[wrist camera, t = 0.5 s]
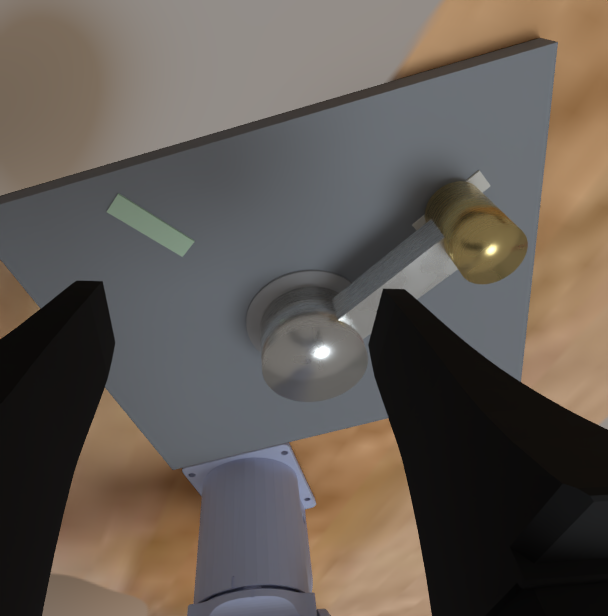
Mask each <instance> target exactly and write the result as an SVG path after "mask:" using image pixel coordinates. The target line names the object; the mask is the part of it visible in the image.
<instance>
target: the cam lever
mask: <svg viewBox="0 0 608 616" xmlns="http://www.w3.org/2000/svg"><path fill="white" fill-rule="evenodd" d="M425 221H426V223H425V224H424V225H423V226H422V227H420V228H419V229H418V230H417V231H415V232H414V233H413V234H412V235H411V236H409V237H408V238H407V239H406V240H404V241H403V242H402V243H401V244H399V245H398V246H397V247H396V248H394V249H393V250H392V251H391V252H390V253H388V254H387V255H386V256H385V257H383V258H382V259H381V260H380V261H378V262H377V263H376V264H375V265H373V266H372V267H371V268H370V269H368V270H367V271H366V272H365V273H364V274H362V275H361V276H360V277H359V278H357V279H356V280H355V281H354V282H352V283H351V284H350V285H349V286H347V287H346V288H345V289H344V290H343V291H341V292H340V293H338V292H336V291H334V290H331V289H328V288H324V287H317V286H308V287H301V288H296V289H293V290H290V291H288V292H285V293H283V294H282V295H280V296H278V297H277V298H276V299H274V300H273V301H272V302H271V303H270V304H269V305H268V307H267V308H266V309H265V311H264V313H263V315H262V318H261V322H260V338H261V360H262V374H263V377H264V380H265V382H266V384H267V385H268V386H269V387H270V388H271V389H272V390H273V391H274V392H275V393H277V394H278V395H280V396H282V397H284V398H287V399H290V400H294V401H300V402H316V401H323V400H327V399H331V398H334V397H336V396H339V395H341V394H343V393H345V392H346V391H348V390H350V389H351V388H352V387H353V386H355V385H356V384H357V383H358V382H359V380H360V379H361V378H362V376H363V375H364V373H365V371H366V369H367V365H368V354H367V351H366V348H365V344H364V341H363V339H364V338H365V337H367V336H368V335H370V334H371V332H372V328H373V324H374V321H375V317H376V313H377V309H378V306H379V302H380V298H381V294H382V290H383V289H405V290H406V291H408V292H409V293H410V294H411V295H412V296H414V297H415V298H416V299H418V298H420V297H421V296H422V295H424V294H425V293H426V292H428V291H429V290H431V289H432V288H433V287H435V286H436V285H437V284H439V283H440V282H441V281H443V280H444V279H445V278H447V277H448V276H450V275H451V274H452V273H454V272H455V271H456V270H459V272H460V273H461V274H462V276H463V277H464V278H465V279H466V280H467V281H469V282H471V283H474V284H490V283H494V282H497V281H500V280H502V279H504V278H505V277H507V276H509V275H510V274H511V273H513V272H514V271H515V270H516V269H517V268H518V267H519V265H520V264H521V263H522V261H523V260H524V258H525V255H526V253H527V248H528V241H527V237H526V235H525V234H524V232H523V231H522V230H521V229H520V228H519V227H518V226H517V225H516V224H515V223H514V222H512V221H511V220H510V219H509V218H508V217H507V216H506V215H505V214H504V213H503V212H502V211H501V210H500V209H499V208H498V207H497V206H496V205H495V204H494V203H493V202H492V201H491V200H490V199H489V198H488V197H486V196H485V195H484V194H483V193H482V192H481V191H480V190H479V189H478V188H477V187H476V186H475V185H473V184H472V183H469V182H465V181H456V182H452V183H449V184H447V185H445V186H443V187H441V188H440V189H439V190H437V191H436V192H435V193H434V194H433V195H432V197H431V198H430V200H429V201H428V203H427V206H426V209H425Z"/></svg>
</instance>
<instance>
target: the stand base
mask: <svg viewBox="0 0 608 616" xmlns="http://www.w3.org/2000/svg"><path fill="white" fill-rule="evenodd" d="M557 45H558V42H555V41H551V40H547V39H543V38H538V39H535V40H532V41H528V42H525V43H521V44H518V45H514V46H511V47H508V48H504V49H501V50H497V51H494V52H490V53H487V54H484V55H480V56H477V57H473V58H470V59H467V60H463V61H460V62H456V63H453V64H449V65H446V66H443V67H439V68H436V69H432V70H429V71H425V72H422V73H419V74H415V75H412V76H408V77H405V78H402V79H398V80H395V81H391V82H388V83H384V84H381V85H378V86H374V87H371V88H368V89H364V90H361V91H358V92H354V93H350V94H347V95H344V96H340V97H337V98H333V99H330V100H326V101H323V102H319V103H316V104H313V105H310V106H306V107H303V108H299V109H296V110H292V111H289V112H286V113H282V114H278V115H275V116H272V117H268V118H265V119H262V120H258V121H255V122H251V123H248V124H244V125H241V126H238V127H234V128H231V129H227V130H224V131H221V132H217V133H213V134H210V135H207V136H203V137H200V138H196V139H193V140H190V141H187V142H183V143H180V144H176V145H173V146H169V147H166V148H162V149H159V150H156V151H152V152H148V153H145V154H142V155H138V156H135V157H132V158H128V159H125V160H121V161H118V162H114V163H111V164H107V165H104V166H101V167H97V168H94V169H91V170H87V171H83V172H80V173H77V174H73V175H70V176H66V177H63V178H60V179H56V180H53V181H49V182H46V183H42V184H39V185H36V186H33V187H29V188H25V189H22V190H19V191H15V192H12V193H8V194H5V195H2V196H0V260H1V261H2V262H3V263H4V264H5V266H6V267H7V268H8V269H9V271H10V272H11V273H12V274H13V275H14V277H15V278H16V279H17V280H18V282H19V283H20V284H21V285H22V286H23V288H24V289H25V290H26V291H27V293H28V294H29V295H30V296H31V297H32V299H33V300H34V301H35V302H36V304H37V305H38V306H39V307H40V308H42V307H44V306H45V305H46V304H47V303H49V302H50V301H51V300H52V299H54V298H55V297H56V296H57V295H58V294H60V293H61V292H62V291H63V290H65V289H66V288H67V287H69V286H70V285H71V284H72V283H74V282H75V281H77V280H78V281H103V285H104V290H105V294H106V299H107V304H108V309H109V314H110V319H111V324H112V328H113V333H114V338H115V348H114V353H113V358H112V363H111V367H110V371H109V376H108V379H107V382H106V385H105V388H106V389H107V390H108V391H109V393H110V394H111V395H112V396H113V398H114V399H115V400H116V401H117V402H118V404H119V405H120V406H121V407H122V409H123V410H124V411H125V412H126V413H127V415H128V416H129V417H130V418H131V420H132V421H133V422H134V423H135V424H136V426H137V427H138V428H139V429H140V431H141V432H142V433H143V434H144V435H145V437H146V438H147V439H148V440H149V442H150V443H151V444H152V445H153V446H154V448H155V449H156V450H157V451H158V453H159V454H160V455H161V456H162V457H163V459H164V460H165V461H166V462H167V464H168V465H169V466H170V467H171V468H172V470H175V469H179V468H183V467H187V466H192V465H196V464H200V463H204V462H208V461H212V460H217V459H221V458H225V457H229V456H233V455H237V454H241V453H246V452H250V451H254V450H258V449H262V448H266V447H270V446H275V445H279V444H283V443H287V442H291V441H295V440H299V439H304V438H308V437H312V436H316V435H320V434H324V433H328V432H333V431H337V430H341V429H345V428H349V427H353V426H357V425H362V424H366V423H370V422H374V421H378V420H382V419H386V418H388V415H387V412H386V409H385V407H384V404H383V401H382V398H381V395H380V392H379V389H378V386H377V383H376V380H375V377H374V372H373V368H372V363H371V357H370V352H369V346H368V343H369V340H370V336H371V334H370V335H368V336H367V337H365V338H364V339H363V341H364V344H365V348H366V351H367V354H368V365H367V369H366V371H365V373H364V375H363V376H362V378H361V379H360V380H359V382H358V383H357V384H356V385H355V386H353V387H352V388H351V389H350V390H348V391H346V392H345V393H343V394H341V395H339V396H336V397H334V398H331V399H327V400H323V401H316V402H300V401H294V400H290V399H287V398H284V397H282V396H280V395H278V394H277V393H275V392H274V391H273V390H272V389H271V388H270V387H269V386H268V385H267V384H266V382H265V380H264V377H263V374H262V360H261V338H260V322H261V318H262V315H263V313H264V311H265V309H266V308H267V307H268V305H269V304H270V303H271V302H272V301H273V300H274V299H276V298H277V297H278V296H280V295H282V294H283V293H285V292H288V291H290V290H293V289H296V288H301V287H308V286H317V287H324V288H328V289H331V290H334V291H336V292H338V293H340V292H341V291H343V290H344V289H345V288H346V287H347V286H349V285H350V284H351V283H352V282H354V281H355V280H356V279H357V278H359V277H360V276H361V275H362V274H364V273H365V272H366V271H367V270H368V269H370V268H371V267H372V266H373V265H375V264H376V263H377V262H378V261H380V260H381V259H382V258H383V257H385V256H386V255H387V254H388V253H390V252H391V251H392V250H393V249H394V248H396V247H397V246H398V245H399V244H401V243H402V242H403V241H404V240H406V239H407V238H408V237H409V236H411V235H412V234H413V233H414V232H415V231H417V230H418V229H419V228H420V227H422V226H423V225H424V224H425V223H426V221H425V209H426V206H427V203H428V201H429V200H430V198H431V197H432V195H433V194H434V193H435V192H436V191H437V190H439V189H440V188H441V187H443V186H445V185H447V184H449V183H452V182H456V181H465V182H469V183H472V184H473V185H475V186H476V187H477V188H478V189H479V190H480V191H481V192H482V193H483V194H484V195H485V196H486V197H488V198H489V199H490V200H491V201H492V202H493V203H494V204H495V205H496V206H497V207H498V208H499V209H500V210H501V211H502V212H503V213H504V214H505V215H506V216H507V217H508V218H509V219H510V220H511V221H512V222H514V223H515V224H516V225H517V226H518V227H519V228H520V229H521V230H522V231H523V232H524V234H525V235H526V237H527V241H528V248H527V253H526V255H525V258H524V260H523V261H522V263H521V264H520V265H519V267H518V268H517V269H516V270H515V271H514V272H513V273H511V274H510V275H509V276H507V277H505V278H504V279H502V280H500V281H497V282H494V283H490V284H474V283H471V282H469V281H467V280H466V279H465V278H464V277H463V276H462V274H461V273H460V272H459V270H456V271H455V272H454V273H452V274H451V275H450V276H448V277H447V278H445V279H444V280H443V281H441V282H440V283H439V284H437V285H436V286H435V287H433V288H432V289H431V290H429V291H428V292H426V293H425V294H424V295H422V296H421V297H420V298H418V299H417V300H418V301H419V302H420V303H422V304H423V305H424V306H425V307H426V308H427V309H428V310H429V311H430V312H432V313H433V314H434V315H435V316H436V317H437V318H438V319H439V320H441V321H442V322H443V323H444V324H445V325H446V326H447V327H448V328H450V329H451V330H452V331H453V332H454V333H455V334H457V335H458V336H459V337H460V338H461V339H463V340H464V341H465V342H466V343H468V344H469V345H470V346H471V347H472V348H474V349H475V350H476V351H478V352H479V353H480V354H482V355H483V356H484V357H485V358H487V359H488V360H489V361H491V362H492V363H493V364H495V365H496V366H498V367H499V368H500V369H502V370H503V371H505V372H506V373H508V374H509V375H511V376H512V377H514V378H515V379H517V380H518V381H520V382H521V375H522V366H523V357H524V348H525V339H526V329H527V320H528V311H529V302H530V293H531V284H532V274H533V265H534V256H535V247H536V238H537V229H538V219H539V210H540V201H541V192H542V183H543V174H544V164H545V155H546V146H547V137H548V128H549V119H550V109H551V100H552V91H553V82H554V73H555V64H556V54H557Z"/></svg>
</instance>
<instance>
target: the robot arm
mask: <svg viewBox="0 0 608 616" xmlns="http://www.w3.org/2000/svg"><path fill="white" fill-rule="evenodd" d="M368 346H369V352H370V357H371V363H372V368H373V372H374V377H375V380H376V383H377V386H378V389H379V392H380V395H381V398H382V401H383V404H384V407H385V409H386V412H387V415H388V418H389V421H390V424H391V427H392V430H393V432H394V435H395V438H396V441H397V444H398V447H399V450H400V454H401V457H402V460H403V464H404V469H405V473H406V477H407V482H408V486H409V490H410V495H411V500H412V504H413V509H414V514H415V519H416V524H417V529H418V534H419V539H420V545H421V550H422V556H423V562H424V567H425V573H426V579H427V585H428V592H429V599H430V605H431V612H432V616H608V430H607V429H605V428H603V427H601V426H599V425H597V424H595V423H593V422H591V421H589V420H587V419H585V418H583V417H581V416H579V415H577V414H575V413H573V412H571V411H569V410H567V409H565V408H564V407H562V406H560V405H558V404H557V403H555V402H553V401H551V400H550V399H548V398H546V397H544V396H543V395H541V394H539V393H537V392H536V391H534V390H533V389H531V388H529V387H528V386H526V385H524V384H523V383H521V382H520V381H518V380H517V379H515V378H514V377H512V376H511V375H509V374H508V373H506V372H505V371H503V370H502V369H500V368H499V367H498V366H496V365H495V364H493V363H492V362H491V361H489V360H488V359H487V358H485V357H484V356H483V355H482V354H480V353H479V352H478V351H476V350H475V349H474V348H472V347H471V346H470V345H469V344H468V343H466V342H465V341H464V340H463V339H461V338H460V337H459V336H458V335H457V334H455V333H454V332H453V331H452V330H451V329H450V328H448V327H447V326H446V325H445V324H444V323H443V322H442V321H441V320H439V319H438V318H437V317H436V316H435V315H434V314H433V313H432V312H430V311H429V310H428V309H427V308H426V307H425V306H424V305H423V304H422V303H420V302H419V301H418V300H417V299H416V298H415V297H414V296H412V295H411V294H410V293H409V292H408V291H406V290H405V289H383V290H382V294H381V298H380V302H379V306H378V309H377V313H376V317H375V321H374V324H373V328H372V332H371V336H370V340H369V343H368ZM114 348H115V338H114V333H113V328H112V324H111V319H110V314H109V309H108V304H107V299H106V294H105V290H104V285H103V281H78V280H77V281H75V282H74V283H72V284H71V285H70V286H69V287H67V288H66V289H65V290H63V291H62V292H61V293H60V294H58V295H57V296H56V297H55V298H54V299H52V300H51V301H50V302H49V303H47V304H46V305H45V306H44V307H42V308H41V309H40V310H39V311H37V312H36V313H35V314H33V315H32V316H31V317H30V318H28V319H27V320H26V321H25V322H23V323H22V324H21V325H19V326H18V327H17V328H16V329H14V330H13V331H11V332H10V333H9V334H7V335H6V336H4V337H3V338H2V339H0V616H42V612H43V606H44V602H45V597H46V592H47V587H48V582H49V577H50V572H51V568H52V563H53V558H54V553H55V549H56V544H57V540H58V536H59V531H60V527H61V523H62V518H63V514H64V510H65V506H66V502H67V498H68V494H69V490H70V486H71V482H72V478H73V474H74V471H75V468H76V465H77V461H78V458H79V455H80V453H81V450H82V447H83V444H84V442H85V439H86V436H87V434H88V431H89V428H90V426H91V423H92V420H93V418H94V415H95V412H96V410H97V407H98V404H99V401H100V399H101V396H102V393H103V391H104V388H105V385H106V382H107V379H108V376H109V371H110V367H111V363H112V358H113V353H114ZM182 472H183V474H184V475H185V476H186V477H187V479H188V480H189V481H190V482H191V484H192V485H193V486H194V487H195V489H196V490H197V491H198V492H199V494H200V495H201V496H202V501H201V514H200V527H199V540H198V553H197V566H196V578H195V591H194V604H190V605H189V606H188V614H187V616H331V615H330V614H329V612H328V611H327V610H326V609H317V610H316V601H315V594H314V593H312V586H313V578H312V569H311V560H310V551H309V542H308V533H307V524H306V515H305V509H308V508H312V507H314V506H315V505H316V501H315V498H314V496H313V494H312V491H311V489H310V487H309V485H308V483H307V481H306V479H305V476H304V474H303V472H302V470H301V468H300V466H299V464H298V461H297V459H296V457H295V455H294V453H293V451H292V448H291V446H290V444H289V443H288V442H287V443H283V444H279V445H275V446H270V447H266V448H262V449H258V450H254V451H250V452H246V453H241V454H237V455H233V456H229V457H225V458H221V459H217V460H212V461H208V462H204V463H200V464H196V465H192V466H187V467H183V468H182Z"/></svg>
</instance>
